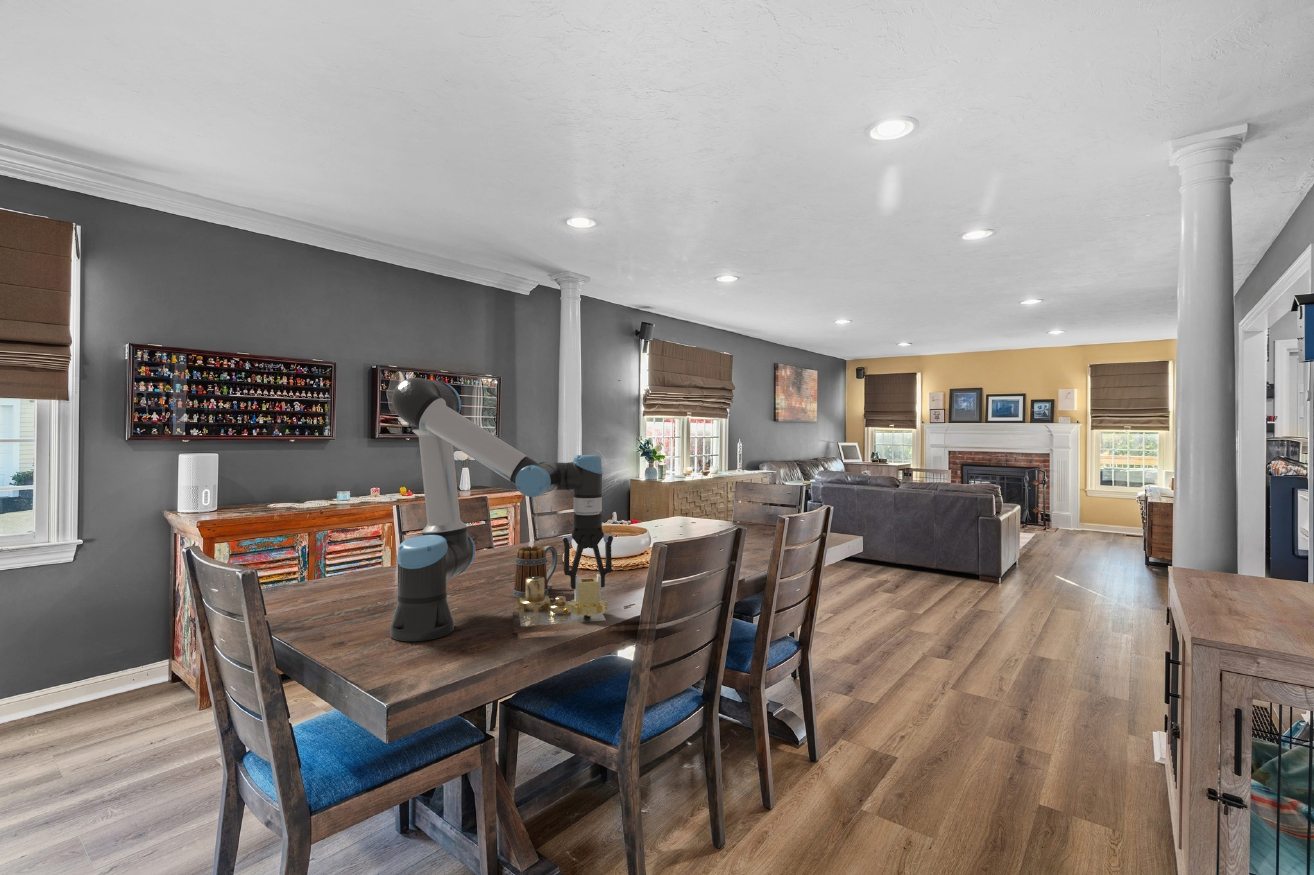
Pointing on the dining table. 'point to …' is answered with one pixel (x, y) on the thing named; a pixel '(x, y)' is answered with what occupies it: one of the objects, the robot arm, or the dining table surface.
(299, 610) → the dining table surface
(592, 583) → the gear
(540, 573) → the mug
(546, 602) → the carrier
